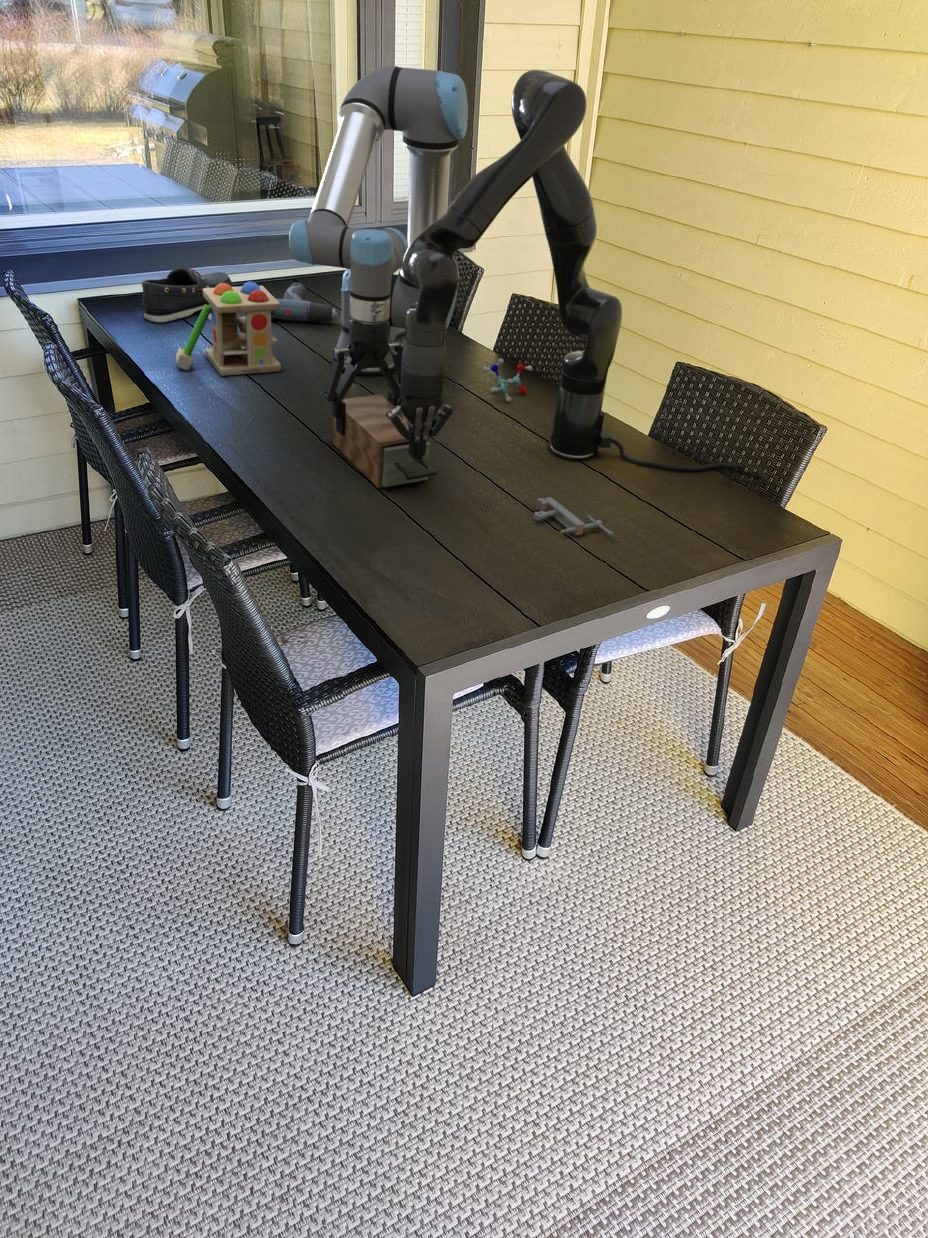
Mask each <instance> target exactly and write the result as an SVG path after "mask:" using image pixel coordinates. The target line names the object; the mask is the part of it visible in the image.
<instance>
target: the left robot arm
mask: <svg viewBox="0 0 928 1238" xmlns="http://www.w3.org/2000/svg"><path fill="white" fill-rule="evenodd" d="M468 121H469V105H468V95H467V89H466V85H465V82H464V80H463V79H462V78H461V76H459V75H458V74H455V73H450V72H445V71H442V70H434V69H423V68H413V67H402V66H401V67H400V66H398V65H385V66H381V67H377V68H376V69H373V70H371V71H370V72H368V73H367V74H365V75H363V76H362V77H361V78H360V79H359V80H357V82H355V84H354V85H353V86H352V87H351V88H350V90H348V92H347V93H346V95H345V97H344V98H343V100H342V102H341V105H340V108H339V110H338V114H337V124H338V126H339V127H338V130H337V133H336V136H335V139H334V142H333V144H332V148H331V151H330V154H329V157H328V160H327V163H326V166H325V170H324V172H323V175H322V178H321V181H320V184H319V187H318V190H317V193H316V195H315V199H314V201H313V204H312V208H311V211H310V214H309V216H308V219H307V220H306V219H303V220H299V219H298V220H295V221H294V222H293V224H292V225H291V227H290V231H289V237H288V249H289V252H290V255H291V258H292V259H294V261H297V262H301V263H304V264H310V265H312V266H315V265H318V266H325V267H333V268H339V269H340V268H341V269H346V270H345V271H344V272H343V274H342V281H341V287H340V292H341V316H340V317H341V319H340V321H341V324H340V325H341V326H340V329H341V330H340V336H339V338H338V341H337V344H336V347H334V348H333V349H332V358H333V359H332V362H331V366H330V369H329V373H328V376H327V379H326V382H325V385H324V389H323V392H322V396H323V397H324V398H325V399H326V400H327V401H328V402H331V403H332V407H331V408H332V409H331V410H332V411H331V414H332V417H333V416H334V417H335V418H336V430H337V431H338V432H339V433H340V434H341V435H345V416H346V403H345V402H343V399H345V397H346V395H347V394H348V392H349V390H350V388H351V386H352V385H353V383H354V382H355V380H356V377H357V376H380V375H381V376H383V379H384V380H385V382H386V383H387V386H388V387H389V389H390V391H389V392H387V399H386V400H388V401H389V402H390V403H391V404H392V405H394V406H395V407H396V408H397V407H398V401H399V399H400V396H401V391H400V384H401V367H402V364H401V361H402V352H403V346H404V345H402V344H401V343H399V342H398V341H397V340H398V339H399V338H401V337H404V336H405V330H403V331H400V332H398V333H396V334H395V335H394V336H393V337H391V336H392V335H391V327H392V328H399V329H405V324H406V314H407V310H408V308H409V307H410V306H411V305H413V304H415V303H418V300H419V295H420V288H418V287H416V286H415V285H413V284H411V283H410V282H409V281H408V280H407V279H406V278H405V277H404V275H403V272H402V261H403V257H404V255H405V252H406V250H407V249H408V247H409V246H410V244H411V243H412V242H413V241H414V240H415V239H416V238H417V237H418V236H419V235H420V234H421V233H422V232H424V231H425V230H426V229H427V228H428V227H429V226H430V225H431V224H433V223H434V222H435V221H437V220H438V219H439V218H440V217H441V216H442V215H443V214H444V213H445V211H446V210H447V208H448V207H449V206H448V205H449V186H450V170H451V169H450V167H451V154H452V153H453V152H454V151H456V149H457V148H458V146H459V140H461V139H464V138H465V137H466V135H467V130H468ZM385 131H395V132H396V131H397V132H402V144H403V145H404V146H405V148H406V149H407V150H408V152H409V163H408V166H409V167H408V203H407V238H406V236H405V235H404V234H403V232H401V231H400V230H399V229H397V228H393V227H385V228H380V229H374V228H370V229H369V228H366V229H365V228H357V227H350V226H349V224H350V221H351V218H352V214H353V212H354V209H355V206H356V202H357V199H358V196H359V192H360V189H361V186H362V183H363V181H364V177H365V174H366V171H367V168H368V165H369V161H370V158H371V156H372V153H373V151H374V150H373V149H374V146H375V143H376V142H378V141H380V139H382V137H383V135H384V132H385ZM398 270H399V274H395V273H396V272H397V271H398ZM457 296H458V290H457V291H456V294H455V298H454V301H453V304H452V307H451V310H450V313H449V315H448V318H447V328H449V325H450V323H451V320H452V318H453V316H454V314H455V313H456V312H457V311H458V310H457V308H456V302H457ZM455 308H456V309H455ZM393 371H395V374H396V377H397V380H398V382H397V380H396V379H395V377H394V374H393V373H392V372H393ZM343 372H344V373H343ZM342 373H343V374H342Z"/></svg>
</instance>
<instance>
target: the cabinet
mask: <svg viewBox="0 0 928 1238" xmlns="http://www.w3.org/2000/svg"><path fill="white" fill-rule="evenodd" d="M343 402H345V403H346V416H345V435H341V434H340V433H339V432H338V431H337V430H336V418H335V417H334V416H333V415H332V444H333V445H334V446H335V447H336V448H337V449H338V450H339V452H341V453H342V454H343V455H344V456H345V457H346V458H347V459H348V460H349V461H350V462H351V463H352V464H353V465H354V466H355V467H356V468H357V469H358V470H359V471H360V472H361V473H362V474H363V475H364V476H365V477H366V478H367V479H368V481H370V482H371V483H372V484H373V485H374V486H375V487H376V488H378V489H379V488H385V487H384V486H383V485H382V481H383V479H382V466H383V446H387V445H393V444H400V443H406V442H409V440H407V439H405V438H404V437H403V436H402V435H401V434H400V433H399V432H398V431H397V429H396V428H395V427H394V425H393V424H392V423H391V421H390V420H389V419H388V418H387V416H386V413H387V411H391V412H392V411H393V410H394V409H395V408H396V407H395V406H394V405H392V404H391V403H390V402H389V401H388V400H387V399H386V398H385V397H384V396H383V395H382V394H381V393H379V394H372V395H370V394H369V395H364V396H363V395H362V396H356V397H355V396H354V397H349V398H344V399H343ZM402 419H403V420H402V421H401V422H402V423H403V424H404V426H405V427H406V428H407V430H408V425H407V419H406V417H405V416H404V414H403V413H402ZM427 441H428V442H429V443H430V437H429V438H428V440H427Z"/></svg>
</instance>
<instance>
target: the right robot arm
mask: <svg viewBox="0 0 928 1238" xmlns="http://www.w3.org/2000/svg"><path fill="white" fill-rule="evenodd" d="M511 94H512V95H511V113H512V118H513V123H514V126H515V128H516V131H517V134H518V137H519V139H520V141H519V142H518V143H517V144H516V145H515V146H513V148H511V149H510V150H509V151H507V152H506V153H505V154H504V155H502V156H501V157H500V158H499V159H497V160H496V161H494V162H493V163H491V164H490V165H487V166H486V167H485V168H483V169H482V170H480V171H479V172H478V173H476V174H475V175H474V176H472V178H470V179H469V180H468V181H467V183H465V185H463V187H462V188H461V189H460V190H459V192H458V194H456V196H455V197H454V199H453V200H452V202H450V204H449V206H448V208H447V210H446V211H445V213H444V214H443V215H442V216H441V217H440V218H439V219H438V220H437V221H435V222H434V223H433V224H431V225H430V226H429V227H428V228H427V229H426V230H425V231H424V232H422V233H421V234H420V235H419V236H418V237H417V238H416V239H415V240H414V241H413V242H412V243H411V244H410V246H409V247H408V249H407V250H406V252H405V255H404V257H403V261H402V267H401V268H402V272H403V275H404V277H405V278H406V279H407V280H408V281H409V282H410V283H411V284H413V285H415V286H416V287H418V288H420V295H419V300H418V303H415V304H413V305H411V306H410V307H409V308H408V310H407V314H406V324H405V328H404V331H405V335H404V342H403V345H402V346H403V352H402V361H401V364H402V367H401V384H400V391H401V396H400V399H399V401H398V407H397V408H395V409H394V410H393V411H392V412H391V411H387V413H386V416H387V418H388V419H389V420H390V421H391V423H392V424H393V425H394V427H395V428H396V429H397V431H398V432H399V433H400V434H401V435H402V436H403V437H404V438H405V439H407V440H409V451H408V452H409V455H410V456H411V457H412V458H413V459H414V460H420V459H423V456H425V453H426V442H427V440H428V438H429V439H430V438H431V437H437V435H438V434H439V433H440V431H441V430H442V428H443V427H444V426H445V425H446V423H447V422H448V420H449V419H450V417H451V416H452V415H453V413H454V409H453V408H452V407H450V406H449V405H448V404H446V403H444V398H443V395H442V394H443V393H444V383H445V370H446V356H447V351H446V349H447V348H446V342H447V341H446V339H447V329H448V327H447V318H448V315H449V313H450V310H451V307H452V304H453V301H454V298H455V294H456V291H457V292H458V288H459V280H460V272H459V266H458V263H457V261H456V258H455V257H454V256H453V255H454V254H455V253H456V252H457V251H458V250H461V249H471V248H473V247H474V246H475V245H476V244H477V243H478V242H479V241H480V239H481V238H482V237H483V235H484V234H485V233H486V231H487V230H488V229H489V227H490V226H491V225H492V223H493V222H494V221H495V219H496V218H497V217H498V215H499V214H500V213H501V211H502V210H503V209H504V208H505V206H507V204H508V203H509V202H510V201H511V199H512V198H514V196H515V195H516V194H517V193H518V192H519V191H520V190H521V189H522V188H523V187H524V186H525V185H526V184H527V183H528V182H529V181H530V180H531V179H532V182H533V187H534V190H535V194H536V197H537V198H536V199H537V202H538V207H539V212H540V217H541V221H542V226H543V230H544V234H545V237H546V241H547V245H548V249H549V253H550V257H551V263H552V264H551V265H552V268H553V272H554V279H555V286H556V294H557V304H558V312H559V317H560V321H561V324H562V327H563V328H564V329H565V330H566V332H568V333H569V334H571V335H574V336H576V337H579V338H582V339H584V340H586V343H585V347H584V350H576V351H572V352H569V353H567V354H566V355H564V357H563V359H562V364H561V372H560V373H561V374H560V379H559V387H558V391H557V392H558V393H557V399H556V407H555V412H554V413H555V414H554V420H553V426H552V427H553V428H552V434H551V436H550V438H549V439H550V445H549V451H550V452H551V453H552V454H554V455H555V456H557V457H559V458H562V459H566V460H572V461H585V460H589V459H591V458H593V457H598V455H599V449H605V448H607V449H609V448H611V444H613V445H615V446H616V448H618V450H619V451H618V452H619V455H620V457H621V459H623V460H624V461H626V462H628V463H631V464H635V465H638V466H643V467H651V468H658V469H664V470H670V471H683V472H700V471H705V470H709V469H714V468H715V469H717V468H725V469H737V470H744V471H746V470H745V469H743V468H745V467H744V466H743V465H744V464H739V463H728V462H727V463H726V462H714V463H708V464H704V465H698V466H697V465H696V466H687V465H686V466H684V465H683V466H682V465H672V464H666V463H660V462H655V461H643V460H637V459H634V458H631V457H629V456H628V455H627V454H626V453H625V449H624V446H623V444H622V443H621V442H619V441H618V440H617V439H615V438H613V437H612V436H611V435H610V434H609V433H608V432H607V431H606V430H605V429H604V428H603V425H604V420H605V412H604V411H603V409H602V407H603V401H604V398H605V397H604V396H605V391H606V384H607V379H608V373H609V369H610V366H611V364H612V362H613V359H614V356H615V352H616V347H617V342H618V339H619V334H620V329H621V326H622V321H623V320H622V319H623V306H622V302H621V300H620V299H619V298H618V297H616V296H615V295H612V294H610V293H607V292H604V291H600V290H598V289H594V288H592V287H591V285H589V282H588V280H587V279H588V278H587V275H586V268H585V264H586V261H587V259H588V257H589V255H590V253H591V251H592V249H593V247H594V245H595V242H596V239H597V235H598V225H597V218H596V214H595V208H594V207H595V206H594V204H593V203H594V202H593V199H592V195H591V192H590V190H589V188H588V186H587V184H586V182H585V180H584V179H583V177H582V175H581V174H580V172H579V170H578V169H577V167H576V165H575V164H574V162H573V160H572V158H571V156H570V155H569V153H568V151H567V148H566V146H565V145H566V144H568V142H569V141H570V140H571V139H572V138H573V137H574V136H575V134H576V133H577V131H579V129H580V127H581V126H582V123H583V122H584V119H585V116H586V113H587V107H588V106H587V97H586V93H585V91H584V89H583V88H582V86H581V85H580V84H578V83H577V82H575V81H573V80H571V79H568V78H566V77H563V76H561V75H558V74H555V73H552V72H549V71H545V70H541V69H531V70H527V71H525V72H523V73H522V74H521V75H520V76H519V78H518V79H517V80H516V83H515V85H514V87H513V91H512V93H511ZM402 413H403V414H404V416H405V417H406V419H407V425H408V430H407V428H406V427H405V426H404V424H403V423H402V422H401V421H402V420H403V419H402ZM753 474H754V475H755V476H757V478H758V479H759V480H761V481H766V479H765V476H764V475H763V474H762V473H761V474H756V473H753Z"/></svg>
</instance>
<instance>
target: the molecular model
mask: <svg viewBox="0 0 928 1238" xmlns="http://www.w3.org/2000/svg"><path fill="white" fill-rule="evenodd" d="M502 364H504V359H503V358H499V359H498V360H497V363H496V364H492V365H491V367H487V366H483V367H482V372H484V373H487V372H488V371H491V372H493V373H495V375H496V377H497V379H498V381H497V385H496V386H494V387H491V388H490V390H489V392H490V393H492V394H494V393H498V392H500V393H502V394H504V397H505V401H506V402H507V403H510V402H512V398H511V397H510V396H509V394H508V392H507V391H508V386H509V385H512V384H513V385H514V386H517V388H518V389H519V393H520V394H521V395H522V396H524V395H526V394H527V392H528V390H527V388H526V387H524V386H523V384H522V383H521V378H520V375H521V372H523V371H524V370H527V371H528V372H531V371H533V366H532V365H528V366H525V365H524V364H522V363H519V364H517V367H516V369H517V372H516V376H514V377H513V378H508V379H505V378H502V376H500V373H499V366H500V365H502Z"/></svg>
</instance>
